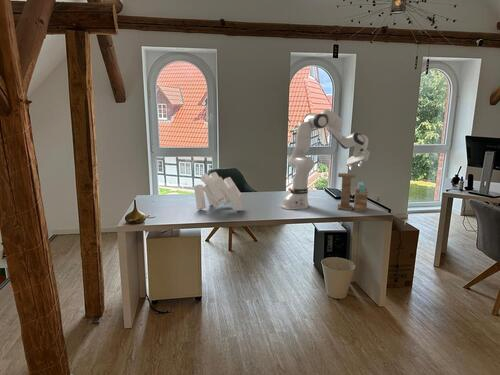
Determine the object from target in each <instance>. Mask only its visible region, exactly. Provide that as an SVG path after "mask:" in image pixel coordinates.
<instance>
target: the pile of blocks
mask: <svg viewBox="0 0 500 375" xmlns="http://www.w3.org/2000/svg"><path fill="white" fill-rule="evenodd" d="M199 180H201V182H202V183H203V184H197V185H193V189H194V190H193V191H194V195H195V196H194V197H195V203H196V210H204V209H207V205H206V199H207V201H208V204H209V206H213V208H214V209H215V208H218V207H220V206H221V204H223V205H224V206H226V205H229V204H231V201H232V202H233V205H234V207H235V209H236V211H237V212H238V211H240V210H242V209H244V206H243V203H242V200H241V198H242V196H243V194H242V193H241V191H240V190H239V188H238V187H237V185H236V183H235V182H234V181H233V179H232V178H231V176H228V177H225V178H222V176H220V175H219V174H218V173H217V171H214V172H211V173H209V174H207V173H206V172H204V173H203V174H202V175H201V176H200V178H199ZM205 197H206V199H205Z"/></svg>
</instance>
